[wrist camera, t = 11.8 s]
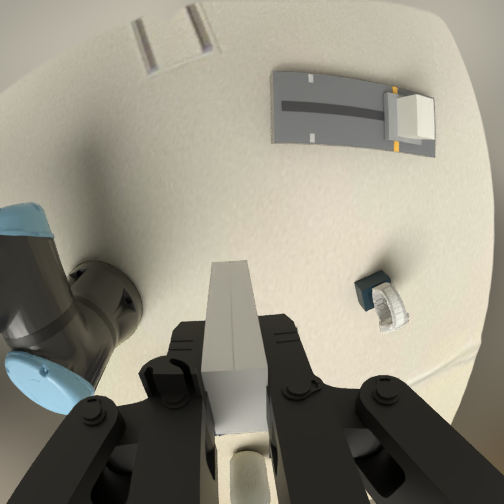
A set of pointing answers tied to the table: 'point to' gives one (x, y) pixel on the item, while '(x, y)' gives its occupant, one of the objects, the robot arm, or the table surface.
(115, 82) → the table surface
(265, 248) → the table surface
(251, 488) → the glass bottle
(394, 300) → the watch
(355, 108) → the console
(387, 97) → the fader tab
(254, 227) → the table surface
